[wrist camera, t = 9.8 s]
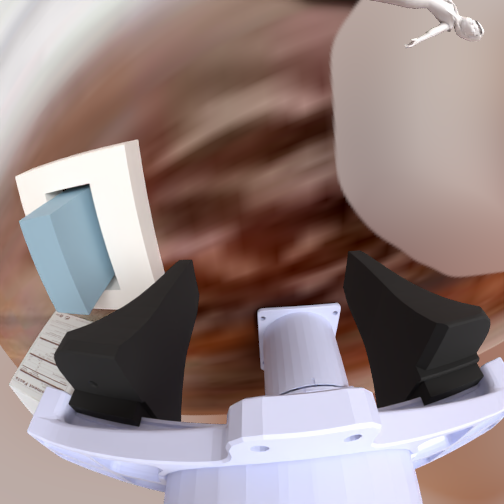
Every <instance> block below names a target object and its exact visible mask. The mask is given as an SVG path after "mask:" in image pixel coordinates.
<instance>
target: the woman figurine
mask: <svg viewBox="0 0 504 504" xmlns="http://www.w3.org/2000/svg"><path fill="white" fill-rule="evenodd" d="M372 1H378V2H383V3H388V4H393V5H398V6H402V7H406V8H414V9H416V8H427V9H428V10H429V11H430V12H432V13H433V14H434V16H435V17H436V18H437V19H438V20H439V22H440V23H441V24H440V25H438V26H437V27H434V28H432V29H430V30H429V31H427V32H426V33H425V34H424V35H422V36H420V37H419V38H417V39H416V38H415V39H411V41H412V42H411V43H410V44H408V45H406V44H404V45H406V46H405V48H410V47H412V46H414V45H416V44H418V43H419V42H422V41H424V40H426V39H428V38H430V37H433V36H436V35H437V34H440V33H442V32H444V31H449V32H450V30H451V29H452V28H453V26H454V24H455V26H454V28H455V32H456V34H457V35H458V36H459V37H461V38H463V39H465V40H469V41H479V40H480V39H481V37H482V36H483V34H484V30H483V28H482V26H481V25H480V24H479V23H478V22H477V21H475V20H472V19H471V18H469V17H462V16H459V13H458V10H457V8H456V5H455V4H454V3H453V2H452V0H372ZM451 3H452V4H453V5H452V4H451ZM453 6H454V9H453Z"/></svg>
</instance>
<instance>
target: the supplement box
mask: <svg viewBox="0 0 504 504" xmlns="http://www.w3.org/2000/svg"><path fill="white" fill-rule="evenodd" d="M91 323H93V322H92V321H88V320H85V319H82V318H79V317H76V316H73V315H70V314H67V313H59V312H57V310H56V311H55V312H54V314H53V315H52V316H51V318H50V319H49V321H48V322H47V323H46V325H45V326H44V328H43V329H42V331H41V332H40V334H39V335H38V337H37V338H36V340H35V341H34V343H33V345H32V346H31V348H30V349H29V351H28V353H27V354H26V356H25V358H24V359H23V361H22V362H21V364H20V366H19V368H18V370H17V371H16V373H15V375H14V377H13V378H12V380H11V382H10V384H9V385H10V387H11V388H12V390H13V391H14V392H15V393H16V395H17V396H18V397H19V399H20V400H21V401H22V402H23V404H24V405H25V406H26V407H27V409H28V410H29V411H30V412H31V413H32V415H34V413H35V411H36V408H37V406H38V404H39V402H40V400H41V397H42V395H43V393H44V391H45V389H46V387H47V386H49V387H52V388H56V389H59V390H63V391H65V392H68V393H69V394H71V395H72V394H73V392H74V388H73V387H72V386H71V384H70V383H69V382H68V381H67V380H66V378H65V377H64V376H63V374H62V373H61V372H60V371H59V369H58V367H57V366H56V363H55V360H54V353H55V352H56V350H57V348H58V346H59V344H60V343H61V341H62V339H63V338H64V336H65V334H66V332H68V331H72V330H74V329H77V328H80V327H83V326H86V325H88V324H91Z"/></svg>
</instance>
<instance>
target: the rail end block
mask: <svg viewBox="0 0 504 504" xmlns="http://www.w3.org/2000/svg"><path fill="white" fill-rule="evenodd" d="M19 223H20V226H21V229H22V232H23V235H24V237H25V240H26V243H27V246H28V248H29V251H30V254H31V256H32V259H33V261H34V264H35V266H36V268H37V271H38V273H39V275H40V278H41V280H42V282H43V284H44V286H45V288H46V291H47V293H48V295H49V297H50V299H51V301H52V303H53V305H54V307H55V309H56V310H57V312H59V313H71V314H84V315H89V314H90V312H91V311H92V309H93V308H94V306H95V304H96V303H97V301H98V300H99V298H100V296H101V295H102V293H103V292H104V290H105V289H106V287H107V286H108V284H109V283H110V281H111V280H112V278H113V277H114V275H115V272H114V269H113V266H112V263H111V260H110V257H109V254H108V251H107V248H106V245H105V241H104V238H103V235H102V231H101V228H100V224H99V221H98V217H97V213H96V209H95V205H94V201H93V197H92V193H91V188H90V184H87V185H83V186H78V187H74V188H69V189H67V190H65V191H64V192H62V193H60V194H59V195H57V196H56V197H54V198H52V199H51V200H49V201H48V202H46V203H45V204H43V205H42V206H40V207H39V208H37V209H36V210H34V211H33V212H31V213H30V214H28V215H27V216H26V217H24V218H23V219H21V220H20V221H19Z"/></svg>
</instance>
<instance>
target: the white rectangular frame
mask: <svg viewBox="0 0 504 504" xmlns="http://www.w3.org/2000/svg"><path fill="white" fill-rule="evenodd" d="M16 182H17V186H18V190H19V194H20V198H21V202H22V205H23V209H24V212H25V216H27V215H28V214H30V213H31V212H33V211H34V210H36V209H37V208H39V207H40V206H42V205H43V204H45V203H46V202H48V201H49V200H51V199H52V198H54V197H56V196H57V195H59V194H60V193H62V192H63V190H62V189H66V188H71V187H75V186H79V185H84V184H90V188H91V193H92V197H93V201H94V205H95V209H96V213H97V217H98V221H99V224H100V228H101V231H102V235H103V238H104V241H105V245H106V248H107V251H108V254H109V257H110V260H111V263H112V266H113V269H114V272H115V275H114V277H113V278H112V280H111V281H110V283H109V284H108V286H107V287H106V289H105V290H104V292H103V293H102V295H101V296H100V298H99V300H98V301H97V303H96V304H95V306H94V308H93V309H116V310H118V309H120V308H122V307H123V306H125V305H126V304H128V303H129V302H131V301H132V300H134V299H135V298H136V297H138V296H139V295H140V294H142V293H143V292H144V291H145V290H146V289H148V288H149V287H150V286H151V285H152V284H154V283H155V282H156V281H157V280H158V279H159V278H160V277H161V276H162V275H164V274H165V272H164V268H163V264H162V260H161V256H160V252H159V248H158V244H157V239H156V235H155V231H154V226H153V222H152V217H151V212H150V207H149V202H148V197H147V192H146V186H145V181H144V175H143V169H142V163H141V156H140V149H139V142H138V140H133V141H128V142H124V143H119V144H115V145H110V146H106V147H102V148H98V149H94V150H90V151H87V152H83V153H79V154H76V155H72V156H69V157H66V158H63V159H59V160H56V161H53V162H50V163H47V164H44V165H41V166H38V167H36V168H33V169H30V170H28V171H26V172H24V173H22V174H20V175H18V176H16Z"/></svg>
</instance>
